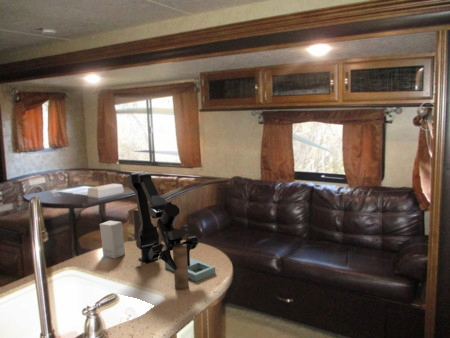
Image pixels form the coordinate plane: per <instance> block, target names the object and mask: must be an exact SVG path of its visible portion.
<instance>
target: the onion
mask: <svg viewBox="0 0 450 338" xmlns="http://www.w3.org/2000/svg"><path fill="white" fill-rule="evenodd" d="M153 225H154V226H156V225H157V224H153ZM157 232H158V234H159V244H162V243H164V241H162V240H161V238H162V236H161V233H160V231H159V228H157Z"/></svg>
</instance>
